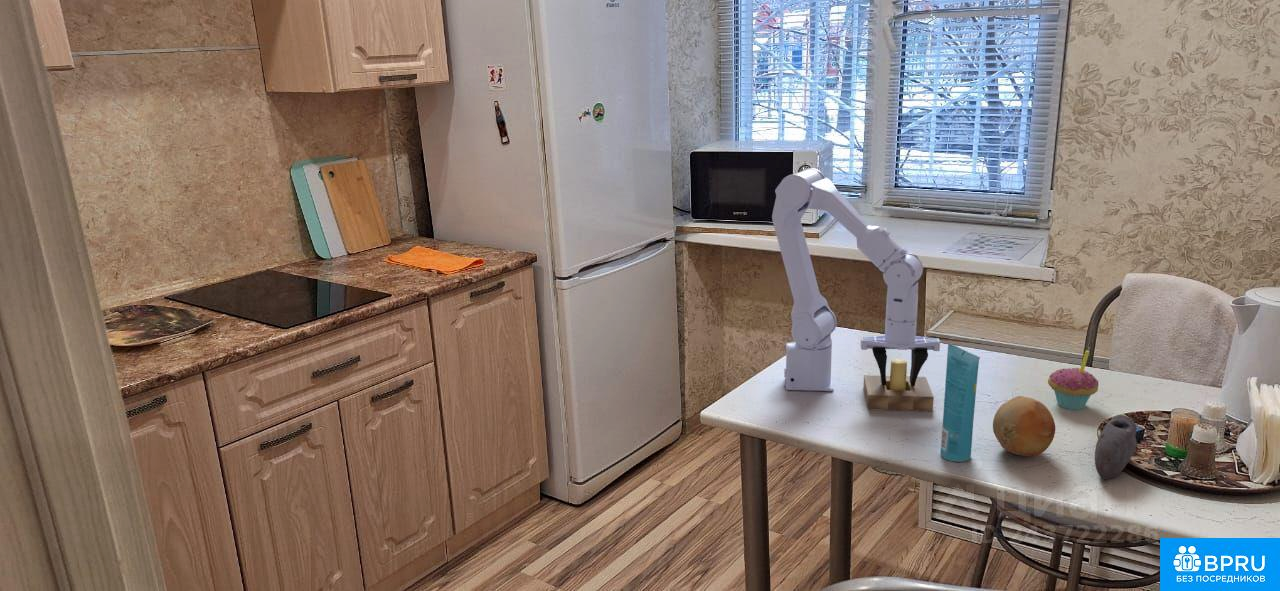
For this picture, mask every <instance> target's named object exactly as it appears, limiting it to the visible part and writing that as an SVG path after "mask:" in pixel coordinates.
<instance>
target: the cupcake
mask: <svg viewBox="0 0 1280 591" xmlns="http://www.w3.org/2000/svg"><path fill="white" fill-rule="evenodd" d="M1090 349H1091V347H1090V346H1088V349H1087V350H1085V352H1084V355H1083V359H1082V362H1081V365H1080V368H1079V367H1072V368H1070V367H1069V368H1060V369H1058V370H1055V371H1054V372H1052V373H1051V374H1050V375H1049V377H1048V379H1047V384H1048V385H1049V386H1050V388H1051V389H1052V390H1053V391H1054V394H1055V400H1056V404H1057V405H1058V406H1059V407H1061V408H1064V409H1067V410H1073V411H1074V410H1077V411H1079V410H1081V409H1082V410H1083V409H1084V408H1085V407H1086V405H1087V403H1088V402H1089V399H1090V398H1091V396H1092V395H1094V394H1096V393H1097V392H1098V389H1099V380H1097V378H1096V377H1095V376H1094V375H1093V374H1091V373H1090V372H1089V371H1086V370H1085V367H1086V364H1087V361H1088V357H1089V355H1090Z"/></svg>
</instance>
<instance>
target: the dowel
mask: <svg viewBox="0 0 1280 591" xmlns="http://www.w3.org/2000/svg"><path fill="white" fill-rule="evenodd" d="M907 368H908V361H906V360H904V359H897V358H896V359H892V360H891V361H890V373H889V376H890V390H905V391H906V376H907V371H908V370H907Z"/></svg>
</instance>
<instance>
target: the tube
mask: <svg viewBox="0 0 1280 591" xmlns="http://www.w3.org/2000/svg"><path fill="white" fill-rule="evenodd" d="M947 344H948V345H947V354H946V355H947V357H946V369H945V370H946V372H945V384H944V385H945V387H944V388H945V389H944V400H943V413H942V414H943V416H942V426H941V428H942V430H941V442H940V455H941V457H942V458H943V459H945V460H948V461H951V462H957V463H958V462H962V463H963V462H967V461H970V459H971V457H972V444H973V430H974V418H975V410H976V409H975V407H976V405H975V404H976V398H977V397H976V396H977V385H978V372H979V364H980V363H979V362H980V359H981V356H978V355H976V354H974V353H972V352H969V351H967V350H965V349H962V348H960V347H958V346H957V345H954V344H953V343H950V342H948V343H947Z"/></svg>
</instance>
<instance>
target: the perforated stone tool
mask: <svg viewBox="0 0 1280 591" xmlns="http://www.w3.org/2000/svg"><path fill="white" fill-rule="evenodd" d="M1136 435H1137V424H1136V422H1135V420H1134V419H1133V418H1132V417H1129V416H1126V415H1124V414H1117V415H1115V416H1114V417H1113V418H1111V419H1110V420H1109V421H1108V422H1107V423H1106V425H1105V426H1104V427H1103V429H1102V431H1101V433H1100V434H1099V436H1098V439H1097V442H1096V444H1095V451H1094V466H1095V470H1096V472H1097V473H1098V476H1099V477H1100V478H1101V479H1104V480H1106V479H1107V480H1108V479H1112V478H1114V477H1116V476H1118V475H1119V474H1120V473H1121V472H1122V471H1123V470H1124V469H1125V468H1126V467H1127V465H1128V463H1129V462H1130V460H1131V458H1132V457H1133V455H1134V452H1135V450H1136V448H1137V447H1138V446H1137V445H1138V440H1137V439H1136V438H1137V437H1136Z"/></svg>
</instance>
